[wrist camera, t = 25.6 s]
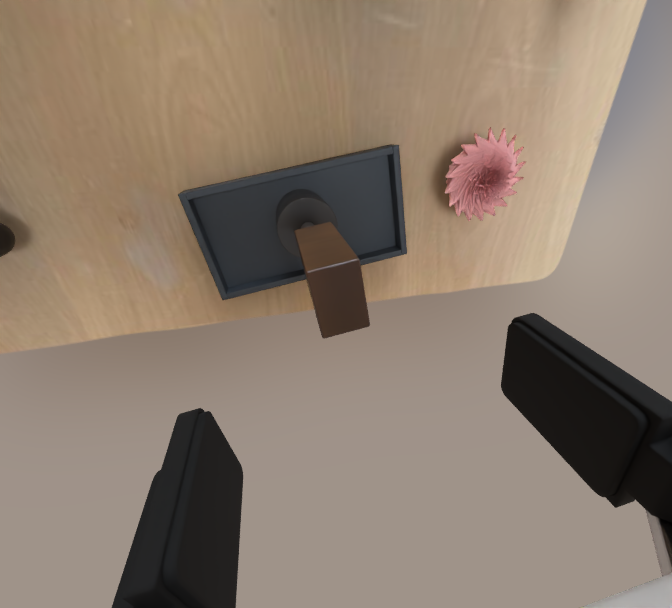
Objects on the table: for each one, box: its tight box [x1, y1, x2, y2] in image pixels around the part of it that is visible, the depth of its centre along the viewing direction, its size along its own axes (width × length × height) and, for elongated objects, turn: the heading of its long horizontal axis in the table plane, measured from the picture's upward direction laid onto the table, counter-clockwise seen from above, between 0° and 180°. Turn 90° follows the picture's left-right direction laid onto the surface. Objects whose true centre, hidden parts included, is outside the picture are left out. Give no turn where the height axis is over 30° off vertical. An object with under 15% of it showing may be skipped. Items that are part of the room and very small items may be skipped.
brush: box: [276, 189, 370, 338], centre depth 22 cm, size 5×5×18 cm
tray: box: [178, 145, 407, 300], centre depth 30 cm, size 19×10×2 cm, turn 101°
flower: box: [445, 127, 526, 221], centre depth 29 cm, size 8×8×6 cm
